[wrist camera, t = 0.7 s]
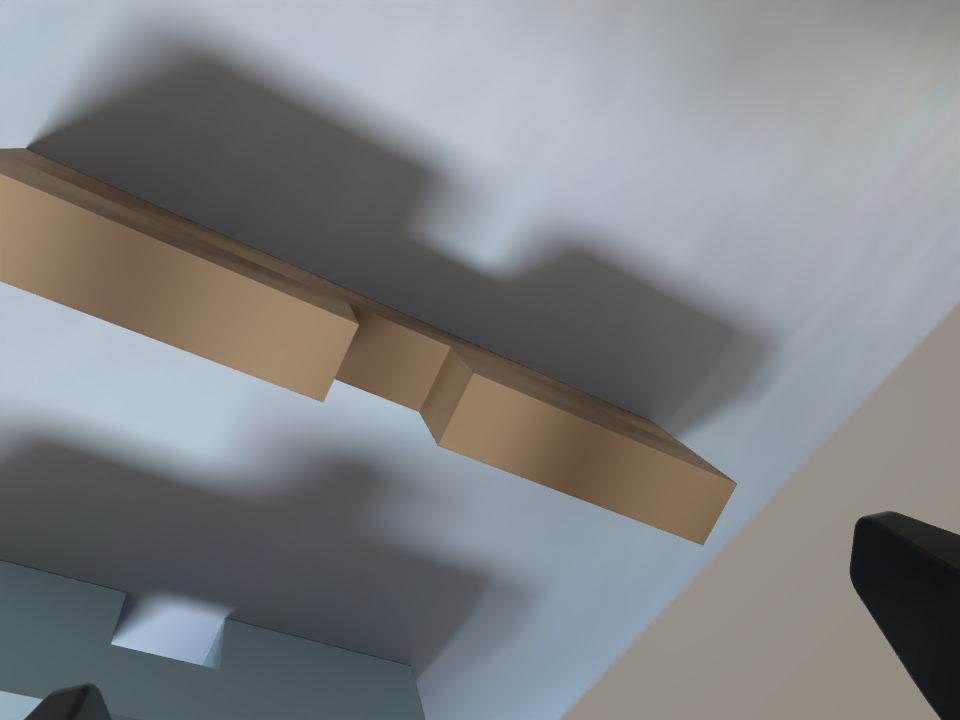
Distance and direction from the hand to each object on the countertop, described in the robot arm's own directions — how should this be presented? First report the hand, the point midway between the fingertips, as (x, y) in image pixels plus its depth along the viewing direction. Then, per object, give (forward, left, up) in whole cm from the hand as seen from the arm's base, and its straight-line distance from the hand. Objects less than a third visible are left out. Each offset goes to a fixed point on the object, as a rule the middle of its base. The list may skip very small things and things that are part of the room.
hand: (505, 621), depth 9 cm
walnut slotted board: (0, 0, -15) cm, 15 cm away
